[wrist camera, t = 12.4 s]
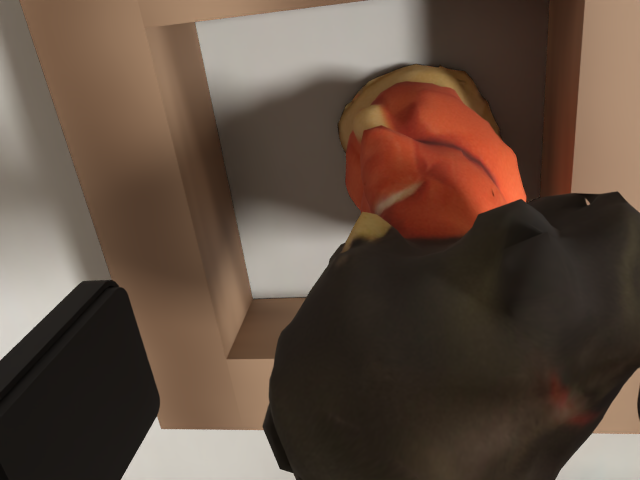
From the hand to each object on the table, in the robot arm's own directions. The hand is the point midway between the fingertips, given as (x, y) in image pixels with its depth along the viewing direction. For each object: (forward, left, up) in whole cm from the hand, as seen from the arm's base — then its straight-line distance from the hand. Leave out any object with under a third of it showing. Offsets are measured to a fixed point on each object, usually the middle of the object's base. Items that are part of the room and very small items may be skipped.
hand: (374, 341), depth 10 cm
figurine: (-1, 0, -9) cm, 9 cm away
